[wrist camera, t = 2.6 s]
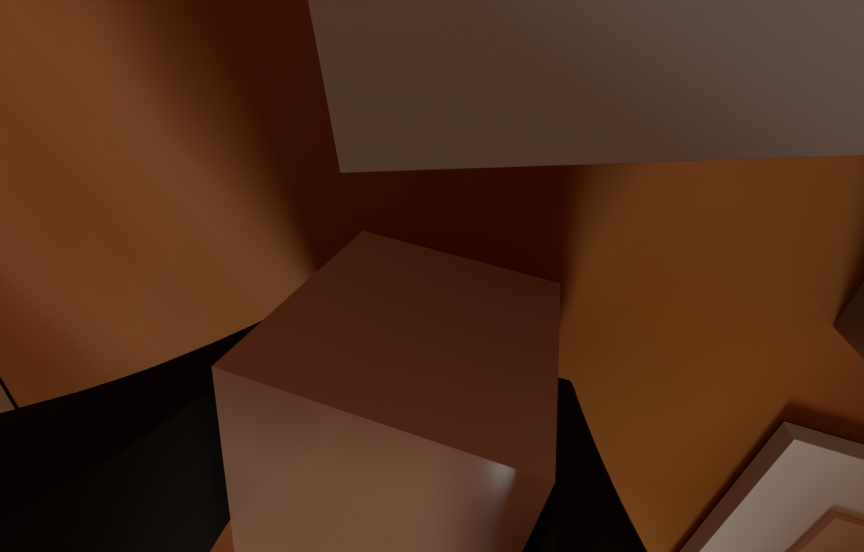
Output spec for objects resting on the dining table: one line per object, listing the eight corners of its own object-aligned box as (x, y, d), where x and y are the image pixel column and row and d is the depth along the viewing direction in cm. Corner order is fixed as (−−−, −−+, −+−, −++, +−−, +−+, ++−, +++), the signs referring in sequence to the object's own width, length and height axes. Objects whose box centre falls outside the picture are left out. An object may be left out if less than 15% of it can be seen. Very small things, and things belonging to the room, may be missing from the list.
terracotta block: (508, 427, 12) (474, 652, 7) (350, 376, 12) (234, 553, 8) (560, 282, 9) (555, 482, 5) (363, 229, 10) (211, 366, 6)
